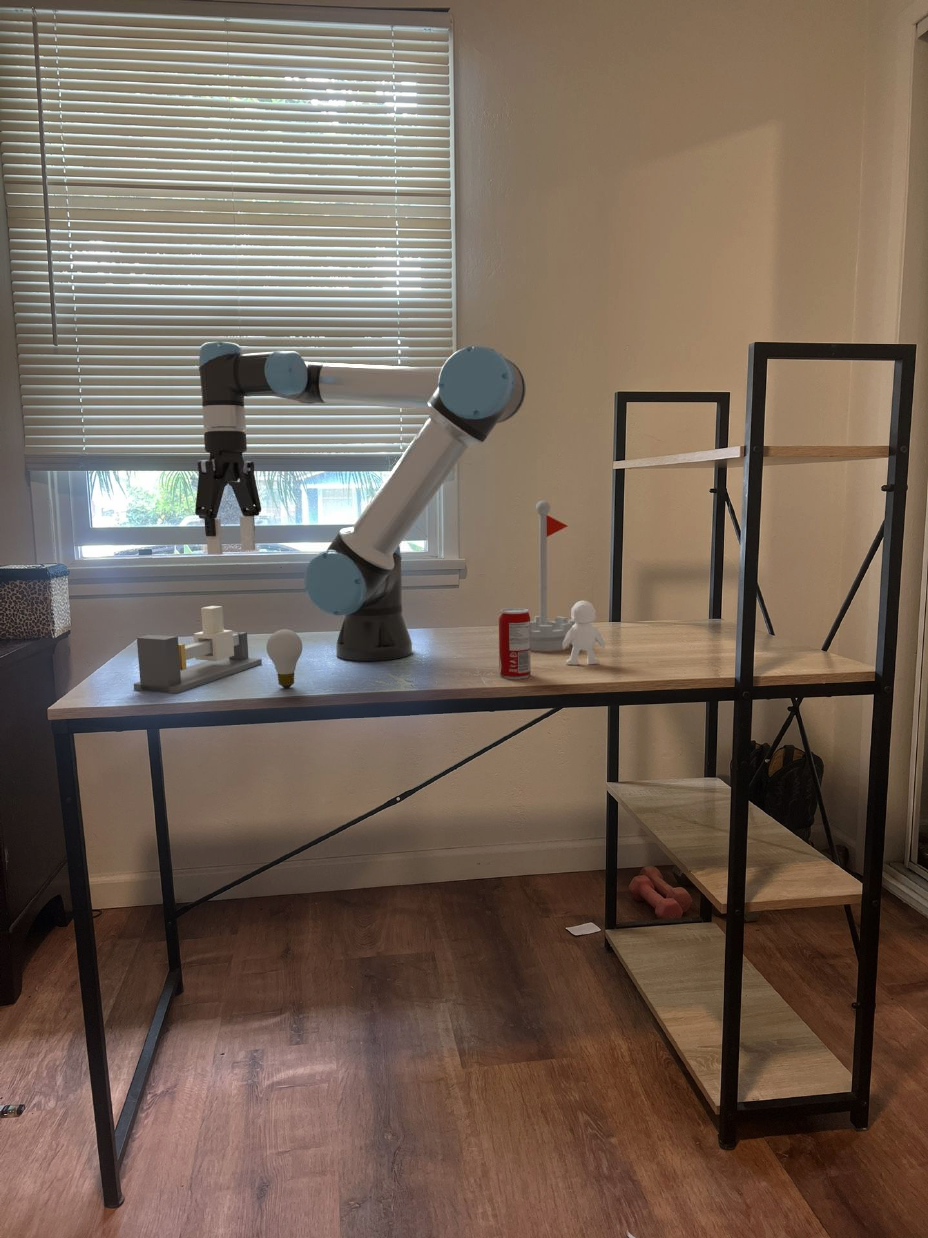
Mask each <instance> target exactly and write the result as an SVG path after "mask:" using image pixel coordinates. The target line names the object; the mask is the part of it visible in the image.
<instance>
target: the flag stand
mask: <svg viewBox="0 0 928 1238" xmlns="http://www.w3.org/2000/svg"><path fill="white" fill-rule="evenodd" d="M535 510H536V512H537V514H539V520H538V521H539V523H538V524H539V526H538V527H539V528H538V529H539V530H538V531H539V542H538V543H539V544H538V545H539V549H538V550H539V561H538V562H539V563H538V564H539V615H535V616H534V620H533V621H530V650H533V651H532V652H553V651H552V650H557V651H563V650H567V649H569V648H570V646H571V643H570V644H569V645H568V646H567V647H566V648H564V649H563V645H562V643H563V641H564V639H565V636H566V634H567V632H568V631H569V630H570V629H571V628H572V626H573V625H574V624H575V623H576V622H574V621H573V620H572V618H570V619H568V617H565V616H555V621H552V620H551V621H548V537H550V536H552V535H553V534H556V533H557V532H559V531H561V530H563V529H566V528H567V527H568V524H565V523H563V522H561V521H559V520H557V519H556V518H554V517H552V516H549V515H548V514H549V513H550V511H551V505H550V503H549V502H548V501H546V500H540V501H538V502H537V503H536V505H535Z"/></svg>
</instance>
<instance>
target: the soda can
mask: <svg viewBox="0 0 928 1238" xmlns="http://www.w3.org/2000/svg"><path fill="white" fill-rule="evenodd" d="M529 612H530V611H529V609H526V608H521V607H515V608H514V607H513V608H510V607H509V608H502V609H500V613H499V618H498V652H499V653H498V654H499V655H498V657H499V659H498V660H499V661H498V664H499V665H498V670H499V675H500V676H501V677H502V678H504V679H508V680H522V679H521V678H523V679H527V678H528V677H529V676H530V675H531V651H530V622H531V616H530V613H529Z"/></svg>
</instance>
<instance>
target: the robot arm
mask: <svg viewBox="0 0 928 1238" xmlns="http://www.w3.org/2000/svg"><path fill="white" fill-rule="evenodd" d="M198 354H199V357H198V359H199V366H198V371H199V376H200V377H199V378H200V389H201V390H200V392H201V402H202V403H201V406H202V418H203V419H202V420H203V421H202V422H203V429H205V430H207V431H205V432H204V434H203V439H204V440H203V441H204V442H203V443H204V451H205V452H206V453H209V459H204V460H203V459H202V460H198V461H197V470H198V476H197V477H198V478H197V489H196V499H195V508H194V513H195V515H196V516H198V518H199V519H203V520H204V531H205V532H204V533H205V536H206V545H207V555H213V556H214V555H217V556H219V555H220V556H221V555H223V553H224V552H223V540H222V539H223V538H222V524H221V521H222V520H221V518H218V512H219V510H220V506H221V502H222V499H223V495H224V491H225V487H226V486H228V485H229V486H230V487H231V488H232V491H233V494H234V496H235V499H236V501H237V504H238V507H239V509H240V512H241V514H242V515H240V516H239V529H240V531H239V532H240V546H241V551H256V538H255V536H256V535H255V531H256V527H255V526H256V525H255V517H257V516H259V515H260V513H261V512H262V506H261V500H260V496H259V491H258V485H257V481H256V476H255V463H254V462H253V461H245V460H244V457H243V453H246V452H247V449H248V448H247V446H248V445H247V434H246V433H245V432H244V431H243V430H245V429H246V427H247V423H246V411H245V409H246V407H245V397H246V398H247V397H276V398H281V399H286V400H292V401H296V402H299V403H301V404H309V405H311V404H318V403H319V404H336V405H337V404H338V405H350V406H351V405H352V406H354V405H355V406H367V407H382V408H383V407H384V408H400V409H414V410H428V417H427V418H426V420H425V421H424V423H423V424H422V426H421V427H420V428H419V430H418V432H416V435H414V437H413V439H412V441H411V442H410V443H409V445H408V446H407V448H406V449H405V450H404V452H403V453H402V455H401V456H400V457H399V459H398V460H397V462H396V463H395V465H394V466H393V468H392V469H391V471H390V473H389V474H388V475H387V476H386V478H385V480H384V481H383V482H382V484H381V486H380V487H379V488H378V490H377V491H376V493H375V494H374V495H373V497H372V498H371V500H370V501H369V503H368V505H367V506H366V508H365V509H364V510H363V512H362V513H361V515H360V516H359V518H358V519H357V520H356V522H355V523H354V525H353V526H349V527H343V528H341V529H340V530H339V531H338V533H337V535H336V536H335V538H334V539H333V540H332V542H331V543H330V545H329V546H328V547H327V549H326V550H324V551H321V552H319V553H317V554H316V555H315V556H314V557H313V558H312V559H311V560H310V561H309V562H308V564H307V566H306V567H305V572H304V577H303V582H304V583H303V584H304V585H305V586H304V587H305V591H306V594H307V596H308V598H309V600H310V601H311V603H312V604H313V606H315V608H317V609H318V610H319V611H321V612H324V614H327V615H330V616H343V620H342V623H341V627H340V629H339V630H340V631H339V635H338V638H337V641H336V645H335V646H336V656H337V657H338V658H340V659H342V660H348V661H358V662H359V661H360V662H364V661H365V662H373V661H374V662H375V661H389V660H395V659H397V660H398V659H400V658H405V657H408V656H410V655H411V654H412V653H413V642H412V639H411V636H410V632H409V630H408V627H407V625H406V623H405V622H406V621H405V618H404V616H403V591H402V585H403V584H402V559H403V557H402V554H401V546H400V545H401V543H402V542H403V540H404V539H405V538H406V537H407V534H408V533H409V532H410V531H411V529H412V527H414V525H415V523H416V522H417V521H418V520H419V518H420V517H421V515H422V514H423V512H424V511H425V510H426V508H427V506H428V505H429V504H430V503H431V501H432V500H433V498H434V497H435V496H436V495H437V492H438V491H439V489H440V488H441V486H442V485H443V484H444V483H445V481H446V480H447V479H448V477H449V475H451V473H452V472H453V471H454V468H455V467H456V465H458V463H459V462H460V460H461V459H462V457H463V456H464V454H465V453H466V452H467V450H468V449H469V448H470V447H472V446H474V445H482V444H484V441H486V440H487V438H488V436H489V435H490V434H491V432H492V431H493V430H494V428H495V427H496V425H498V424H500V423H504V422H506V421H508V420H510V419H511V418H513V417H514V416H515V415H516V414H517V413H518V412H519V410H521V407H522V406H523V403H524V402H525V399H526V392H527V389H526V388H527V387H526V381H525V378H524V375H523V374H522V373H523V372H521V370H520V368H519V367H518V366H517V365H516V364H515V363H514V362H512V361H511V360H509V359H508V358H506V357H505V356H504V355H503V354H502V353H500V352H498V351H497V350H495V349H493V348H491V347H487V346H486V347H485V346H480V345H476V346H475V345H473V346H467V347H464V348H461V349H459V350H457V351H456V352H454V353H453V354H451V355H450V356H449V357H448V358H447V360H445V362H444V364H443V365H442V367H441V368H437V367H435V368H434V367H418V366H417V367H415V366H414V367H412V366H395V365H393V366H392V365H377V364H376V365H374V364H372V365H371V364H355V363H354V364H350V363H335V362H332V363H331V362H330V363H329V362H315V361H311V362H310V361H305V360H304V358H303V357H302V356H301V354H300V353H299V352H297V351H292V350H291V351H289V350H287V351H285V350H276V351H267V352H252V353H242V347H240V345H239V344H238V343H236V342H235V343H234V342H227V341H220V342H219V341H212V342H211V341H210V342H204V344H202V345H201V346H200V347H199V352H198Z"/></svg>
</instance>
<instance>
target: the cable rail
mask: <svg viewBox="0 0 928 1238" xmlns="http://www.w3.org/2000/svg"><path fill="white" fill-rule="evenodd" d="M248 641H249V640H248V631H247V632H244V631H243V632H242V631H233V644H234V656H232V657H228V658H225V659H222V660H219V661H210V660H205V661H203V662H200V663H196V664H193V665H190V666H187V661H188V660H191V659H196V658H195V657H199V656H202V655H205V654H209V653H212V652H213V645H212V639H208V640H205V641H201V642H197V643H191V644H187V645H186V644H185V643H179V637H178V636H176V635H175V636H174V635H160V634H159V635H158V634H146V635H143V636H139V637H136V645H137V658H138V659H137V660H138V669H139V682H134V683H133V690H135V691H136V690H137V691H144V692H145V691H148V692H159V693H169V694H179V693H182V692H185V691H188V690H192V689H193V688H196V687H200V686H202V685H206V684H208V683H210V682H214V681H216V680H220V679H223V678H225V677H228V676H232V675H234V674H237V673H240V672H243V671H246V670H248V669H251V668H254V667H257V666H259V665H262V663H263V660H262V659H263V658H253V657H249V644H248Z"/></svg>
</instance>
